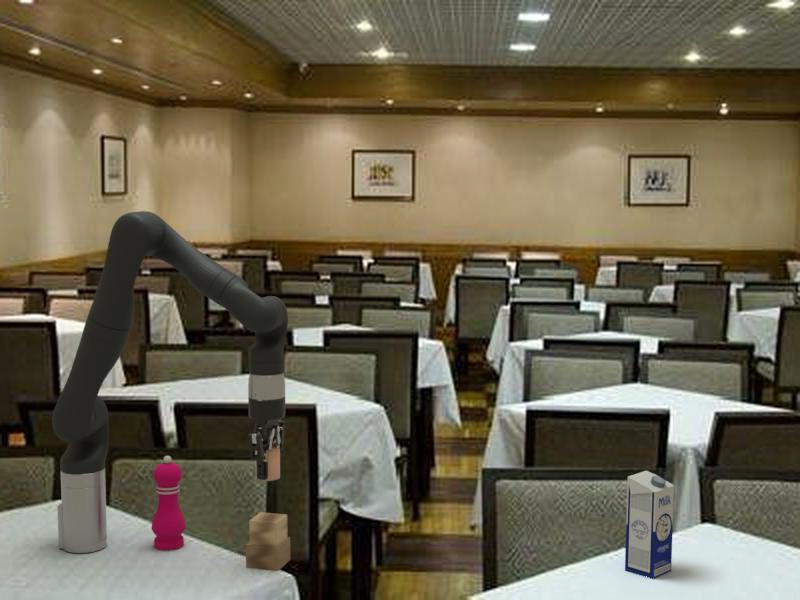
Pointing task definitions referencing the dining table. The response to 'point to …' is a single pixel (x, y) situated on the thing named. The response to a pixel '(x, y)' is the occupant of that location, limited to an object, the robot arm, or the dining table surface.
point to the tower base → (268, 556)
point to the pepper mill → (168, 507)
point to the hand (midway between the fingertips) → (267, 475)
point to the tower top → (268, 529)
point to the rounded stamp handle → (273, 464)
